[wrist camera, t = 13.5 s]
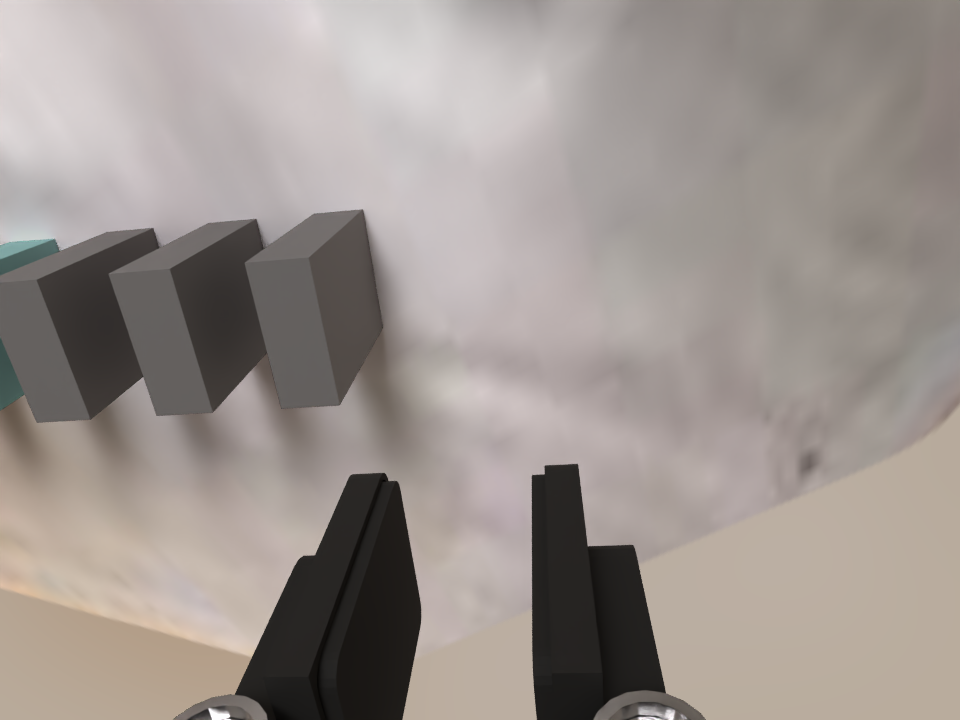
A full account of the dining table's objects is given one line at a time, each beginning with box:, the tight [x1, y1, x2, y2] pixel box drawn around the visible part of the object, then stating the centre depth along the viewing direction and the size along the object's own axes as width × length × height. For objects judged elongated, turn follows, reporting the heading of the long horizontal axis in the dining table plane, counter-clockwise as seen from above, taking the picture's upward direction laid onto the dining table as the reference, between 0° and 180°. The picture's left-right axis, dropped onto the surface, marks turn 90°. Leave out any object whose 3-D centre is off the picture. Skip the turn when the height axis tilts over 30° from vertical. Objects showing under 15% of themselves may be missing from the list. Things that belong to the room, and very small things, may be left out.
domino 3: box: [0, 228, 159, 423], centre depth 25 cm, size 2×5×7 cm, turn 6°
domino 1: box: [245, 210, 383, 409], centre depth 24 cm, size 2×5×7 cm, turn 5°
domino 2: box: [109, 219, 267, 416], centre depth 24 cm, size 2×5×7 cm, turn 6°
